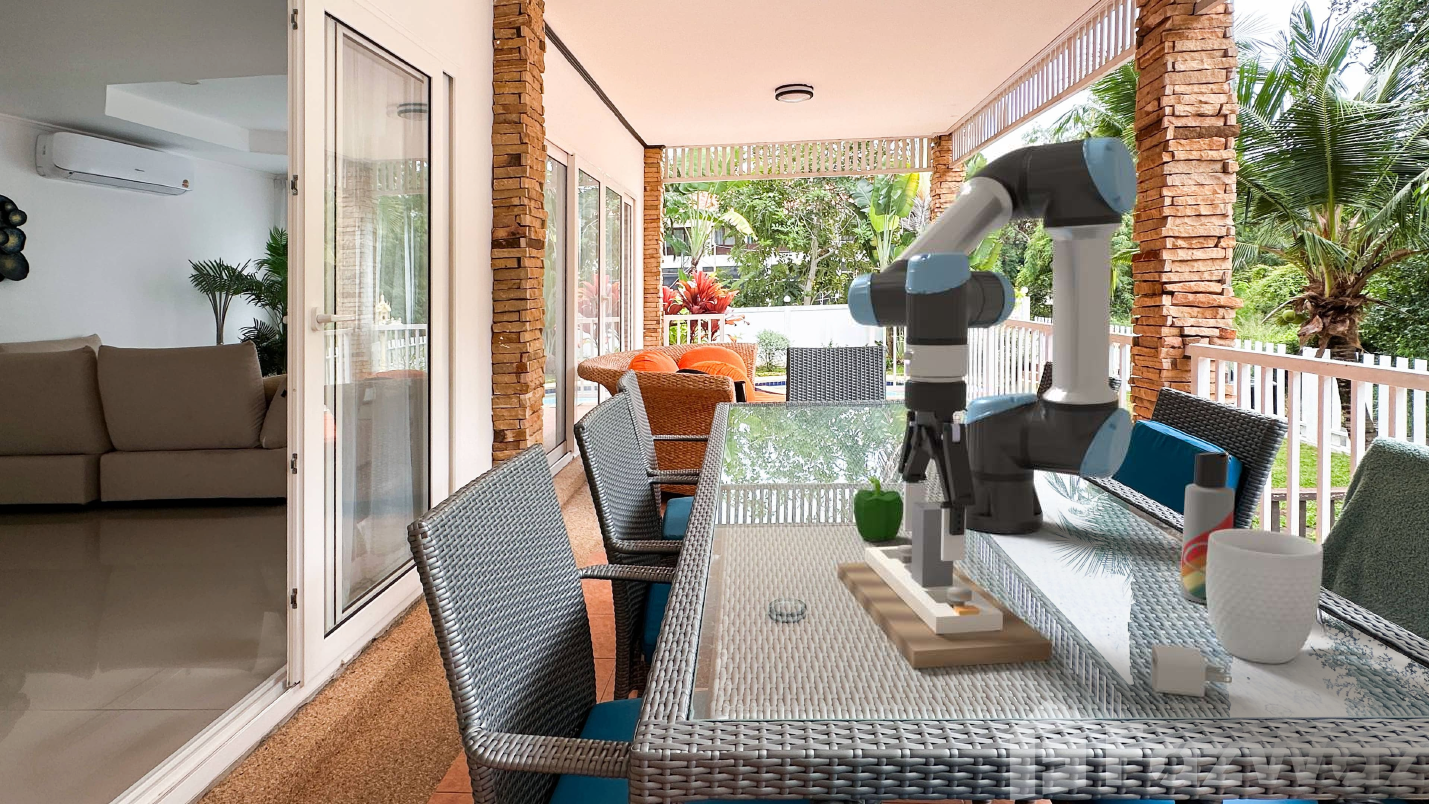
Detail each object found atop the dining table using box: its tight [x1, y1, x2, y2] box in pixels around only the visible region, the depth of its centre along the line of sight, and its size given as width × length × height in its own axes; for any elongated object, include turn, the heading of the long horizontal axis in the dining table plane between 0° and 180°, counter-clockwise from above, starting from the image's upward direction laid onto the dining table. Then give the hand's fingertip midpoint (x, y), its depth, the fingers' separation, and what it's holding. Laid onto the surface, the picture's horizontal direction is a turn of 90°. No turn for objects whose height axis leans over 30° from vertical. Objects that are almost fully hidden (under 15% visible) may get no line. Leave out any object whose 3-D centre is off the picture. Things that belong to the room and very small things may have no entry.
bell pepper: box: [853, 477, 904, 542], centre depth 147 cm, size 8×8×10 cm
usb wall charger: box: [1149, 643, 1233, 698], centre depth 90 cm, size 4×7×4 cm, turn 72°
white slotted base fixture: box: [864, 500, 1003, 634], centre depth 114 cm, size 28×8×12 cm, turn 7°
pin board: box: [837, 544, 1053, 669], centre depth 112 cm, size 32×16×6 cm, turn 7°
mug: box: [1206, 528, 1324, 665], centre depth 99 cm, size 15×11×13 cm
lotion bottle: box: [1179, 451, 1236, 605], centre depth 116 cm, size 6×6×20 cm
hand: (932, 544), depth 112 cm, fingers open, 13 cm apart
